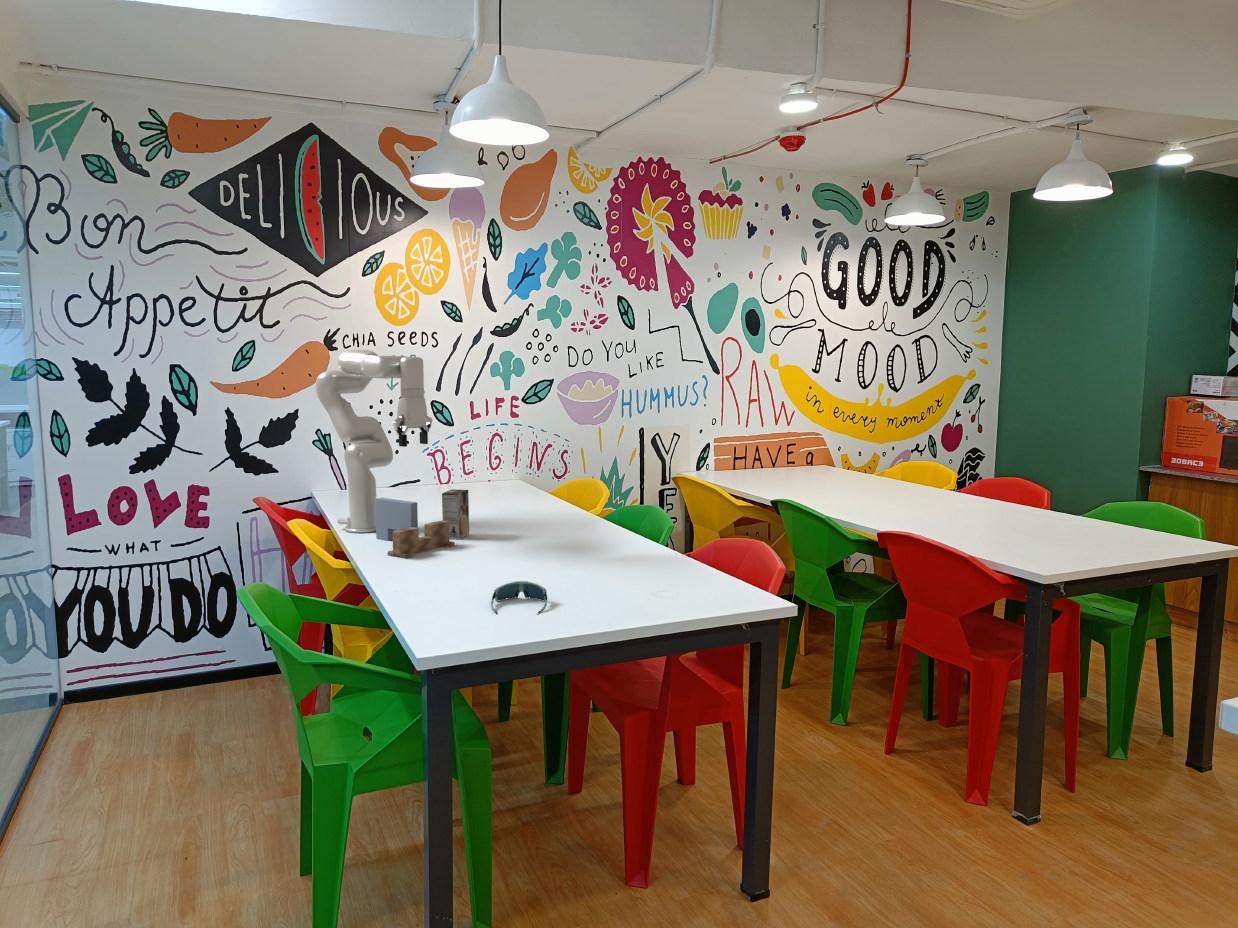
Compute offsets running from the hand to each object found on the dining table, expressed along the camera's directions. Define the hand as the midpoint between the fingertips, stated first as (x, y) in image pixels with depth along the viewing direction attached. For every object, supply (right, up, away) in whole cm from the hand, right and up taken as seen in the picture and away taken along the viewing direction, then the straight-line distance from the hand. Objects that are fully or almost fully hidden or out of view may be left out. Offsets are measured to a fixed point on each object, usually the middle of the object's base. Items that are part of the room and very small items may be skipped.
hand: (413, 445), depth 287 cm
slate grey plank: (-6, -33, +4) cm, 33 cm away
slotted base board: (+5, -34, -10) cm, 36 cm away
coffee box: (+12, -32, +12) cm, 36 cm away
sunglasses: (+44, -43, -69) cm, 93 cm away
